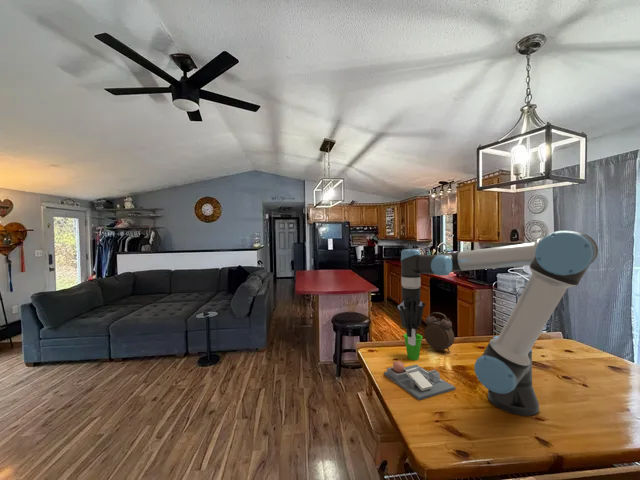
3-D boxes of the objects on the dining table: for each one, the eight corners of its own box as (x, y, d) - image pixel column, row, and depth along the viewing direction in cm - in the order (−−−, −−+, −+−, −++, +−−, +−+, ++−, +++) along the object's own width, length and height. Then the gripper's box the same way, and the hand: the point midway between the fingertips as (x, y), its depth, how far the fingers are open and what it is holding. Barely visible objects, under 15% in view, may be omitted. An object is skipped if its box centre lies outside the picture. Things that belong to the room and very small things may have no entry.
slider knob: (439, 381, 116) (439, 371, 116) (434, 383, 115) (433, 373, 115) (434, 378, 119) (434, 368, 119) (428, 379, 117) (428, 370, 117)
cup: (419, 363, 135) (419, 340, 135) (401, 359, 140) (400, 337, 140) (425, 357, 142) (425, 335, 142) (407, 353, 148) (407, 332, 148)
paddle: (432, 388, 110) (432, 385, 110) (421, 391, 108) (422, 388, 108) (414, 370, 119) (415, 367, 119) (405, 372, 117) (405, 369, 117)
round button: (406, 372, 121) (405, 364, 121) (397, 374, 119) (397, 366, 119) (399, 368, 125) (399, 360, 125) (391, 369, 123) (391, 362, 123)
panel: (455, 389, 112) (455, 378, 112) (419, 400, 105) (418, 388, 105) (416, 366, 132) (416, 357, 132) (384, 374, 125) (383, 364, 125)
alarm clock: (456, 352, 147) (455, 314, 147) (448, 356, 142) (448, 316, 142) (430, 344, 158) (430, 309, 158) (423, 348, 154) (422, 311, 154)
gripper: (417, 284, 123) (418, 339, 123) (392, 286, 118) (393, 343, 118) (430, 287, 116) (430, 344, 116) (404, 289, 111) (404, 350, 111)
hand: (411, 344), depth 117 cm, fingers closed
